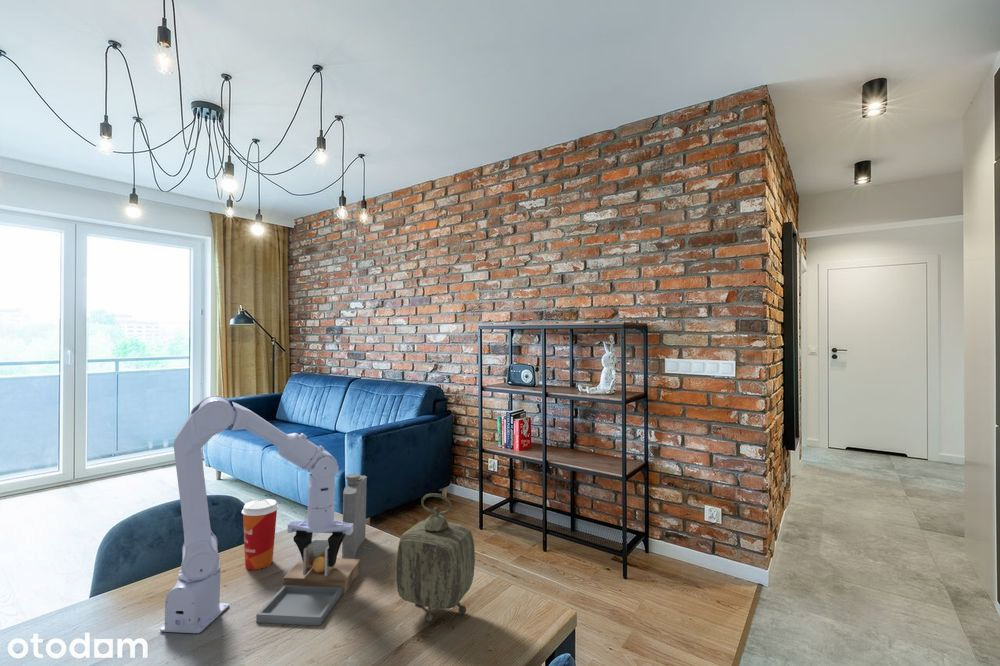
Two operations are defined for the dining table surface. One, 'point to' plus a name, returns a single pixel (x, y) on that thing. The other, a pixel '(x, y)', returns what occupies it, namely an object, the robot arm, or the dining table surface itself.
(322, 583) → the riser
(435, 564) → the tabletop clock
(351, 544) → the hip flask
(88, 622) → the dining table surface
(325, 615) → the tray
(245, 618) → the dining table surface
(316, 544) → the grey arch
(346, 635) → the dining table surface
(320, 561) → the ball
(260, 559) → the coffee cup
